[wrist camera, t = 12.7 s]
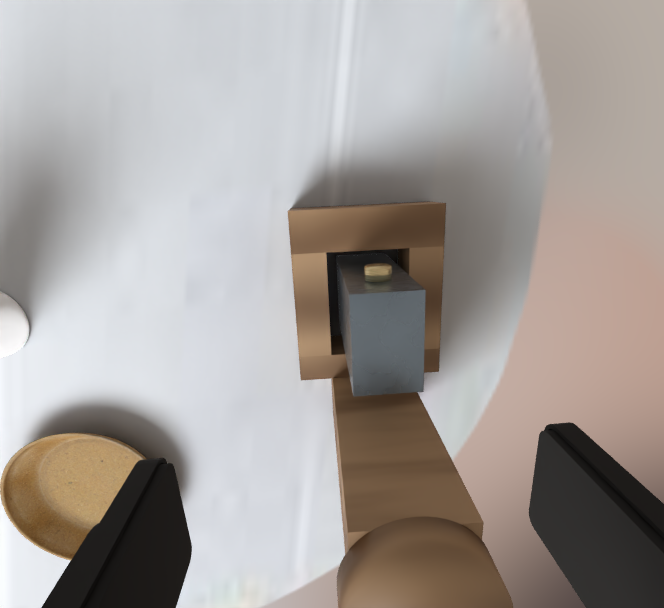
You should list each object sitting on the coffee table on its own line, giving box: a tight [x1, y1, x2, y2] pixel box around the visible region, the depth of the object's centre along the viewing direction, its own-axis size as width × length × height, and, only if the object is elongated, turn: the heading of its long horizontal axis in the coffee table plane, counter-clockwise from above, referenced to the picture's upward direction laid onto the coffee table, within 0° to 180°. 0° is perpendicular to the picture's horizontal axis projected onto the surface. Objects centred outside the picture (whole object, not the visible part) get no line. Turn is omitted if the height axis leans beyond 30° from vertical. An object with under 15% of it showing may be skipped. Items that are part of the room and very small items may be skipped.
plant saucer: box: [0, 433, 146, 560], centre depth 35 cm, size 15×15×3 cm
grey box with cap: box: [336, 253, 426, 397], centre depth 26 cm, size 7×4×12 cm, turn 3°
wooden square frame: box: [288, 202, 513, 608], centre depth 23 cm, size 20×11×20 cm, turn 3°
